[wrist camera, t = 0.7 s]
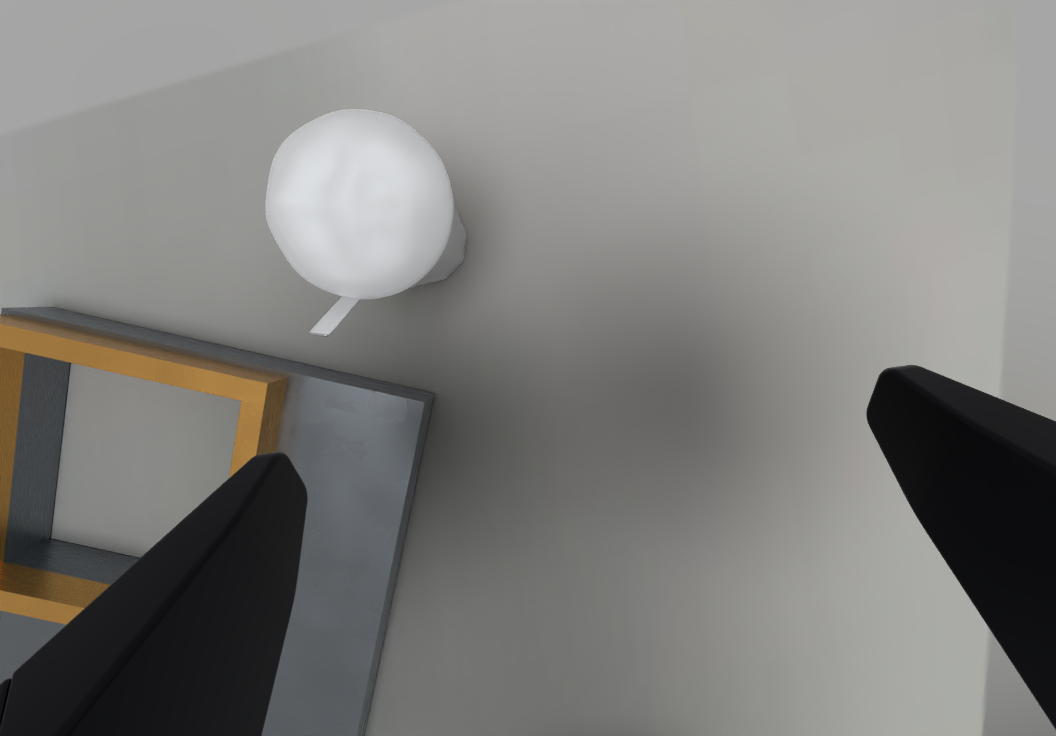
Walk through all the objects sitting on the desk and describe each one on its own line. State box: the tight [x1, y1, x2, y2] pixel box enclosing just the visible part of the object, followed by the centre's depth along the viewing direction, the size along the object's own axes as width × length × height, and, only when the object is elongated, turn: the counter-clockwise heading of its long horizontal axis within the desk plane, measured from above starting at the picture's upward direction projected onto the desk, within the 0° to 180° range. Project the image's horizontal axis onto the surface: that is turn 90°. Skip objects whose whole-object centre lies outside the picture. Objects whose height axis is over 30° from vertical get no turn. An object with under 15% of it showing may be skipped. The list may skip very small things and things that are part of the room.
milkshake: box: [265, 109, 467, 337], centre depth 16 cm, size 4×5×10 cm
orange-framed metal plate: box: [0, 307, 435, 736], centre depth 21 cm, size 18×16×4 cm
